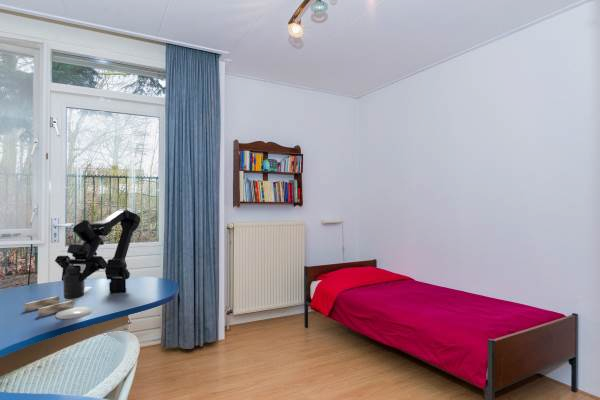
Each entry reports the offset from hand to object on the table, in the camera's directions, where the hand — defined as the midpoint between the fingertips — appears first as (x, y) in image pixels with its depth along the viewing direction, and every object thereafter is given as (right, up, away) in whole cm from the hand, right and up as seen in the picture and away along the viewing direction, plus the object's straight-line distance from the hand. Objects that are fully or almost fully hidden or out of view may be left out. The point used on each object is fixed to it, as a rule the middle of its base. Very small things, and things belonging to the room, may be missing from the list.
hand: (71, 280), depth 137 cm
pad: (0, -13, +2) cm, 13 cm away
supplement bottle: (0, -7, +2) cm, 7 cm away
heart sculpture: (-16, -12, +33) cm, 39 cm away
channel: (-13, -13, +6) cm, 19 cm away
